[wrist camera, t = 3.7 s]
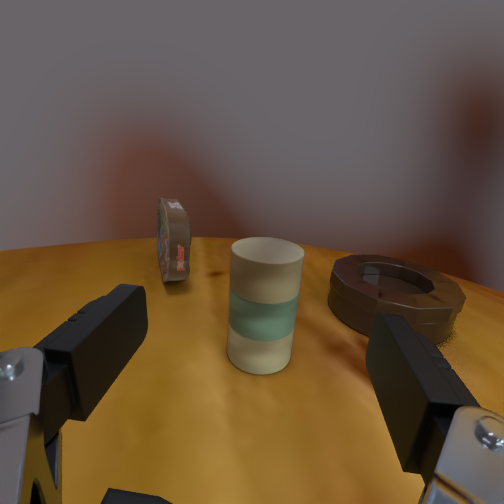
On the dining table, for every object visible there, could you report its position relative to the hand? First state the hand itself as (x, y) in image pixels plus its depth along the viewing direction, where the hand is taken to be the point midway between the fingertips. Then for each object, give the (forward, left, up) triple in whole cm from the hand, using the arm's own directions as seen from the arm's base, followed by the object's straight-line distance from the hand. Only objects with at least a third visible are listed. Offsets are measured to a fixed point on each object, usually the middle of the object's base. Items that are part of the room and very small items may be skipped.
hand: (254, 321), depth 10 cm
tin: (-19, +21, -10) cm, 30 cm away
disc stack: (-3, +10, -10) cm, 15 cm away
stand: (+7, +22, -10) cm, 26 cm away
